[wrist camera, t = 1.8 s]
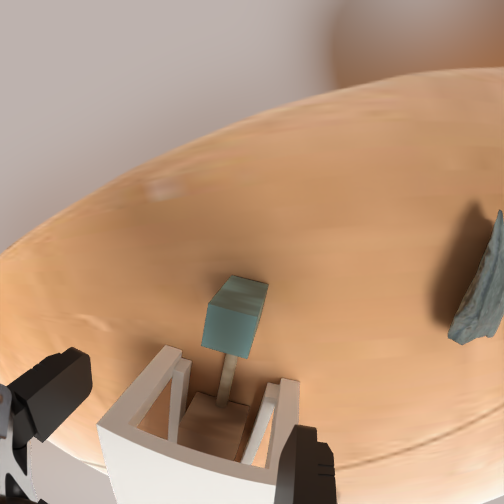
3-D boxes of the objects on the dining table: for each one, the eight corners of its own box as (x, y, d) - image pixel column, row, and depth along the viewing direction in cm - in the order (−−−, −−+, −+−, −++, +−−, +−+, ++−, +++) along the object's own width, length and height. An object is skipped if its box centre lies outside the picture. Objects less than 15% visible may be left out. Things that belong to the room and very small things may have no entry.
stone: (518, 223, 18) (464, 194, 16) (548, 236, 15) (504, 207, 13) (480, 325, 22) (418, 326, 20) (505, 345, 18) (447, 355, 16)
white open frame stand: (299, 381, 23) (294, 488, 12) (257, 477, 26) (241, 553, 15) (165, 344, 24) (96, 424, 13) (160, 448, 28) (121, 515, 17)
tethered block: (283, 288, 21) (277, 322, 15) (239, 438, 25) (226, 482, 19) (217, 271, 22) (189, 298, 16) (191, 425, 25) (171, 465, 20)
